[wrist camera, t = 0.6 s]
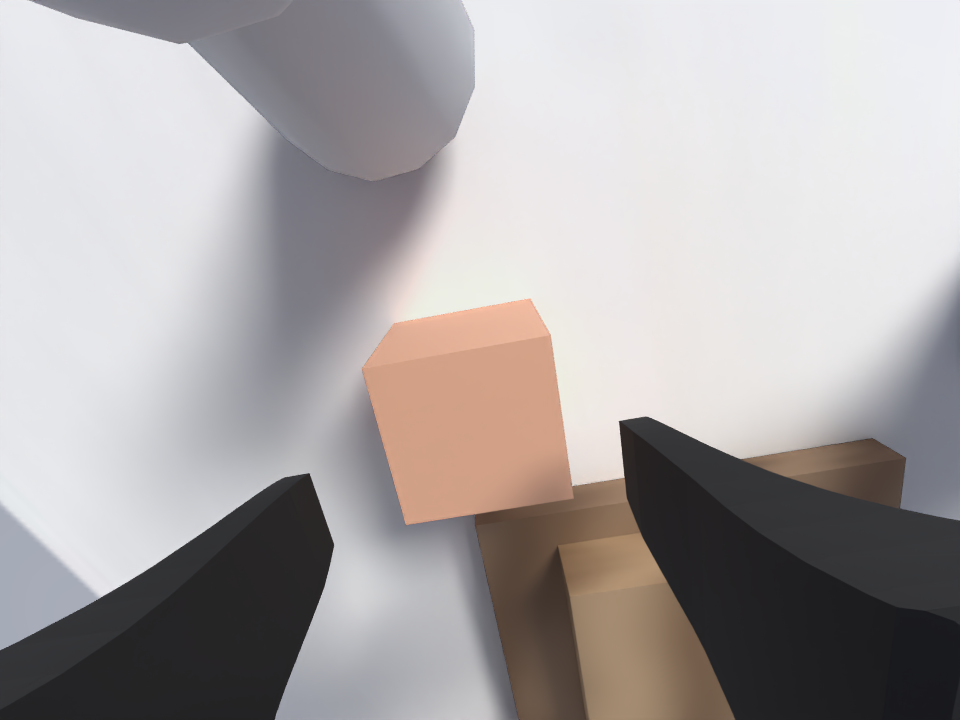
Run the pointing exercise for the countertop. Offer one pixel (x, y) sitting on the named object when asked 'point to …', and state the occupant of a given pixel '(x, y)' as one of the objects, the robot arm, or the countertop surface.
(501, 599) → the base
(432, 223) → the countertop surface
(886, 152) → the countertop surface
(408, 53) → the salt shaker
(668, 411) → the countertop surface
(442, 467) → the cube
